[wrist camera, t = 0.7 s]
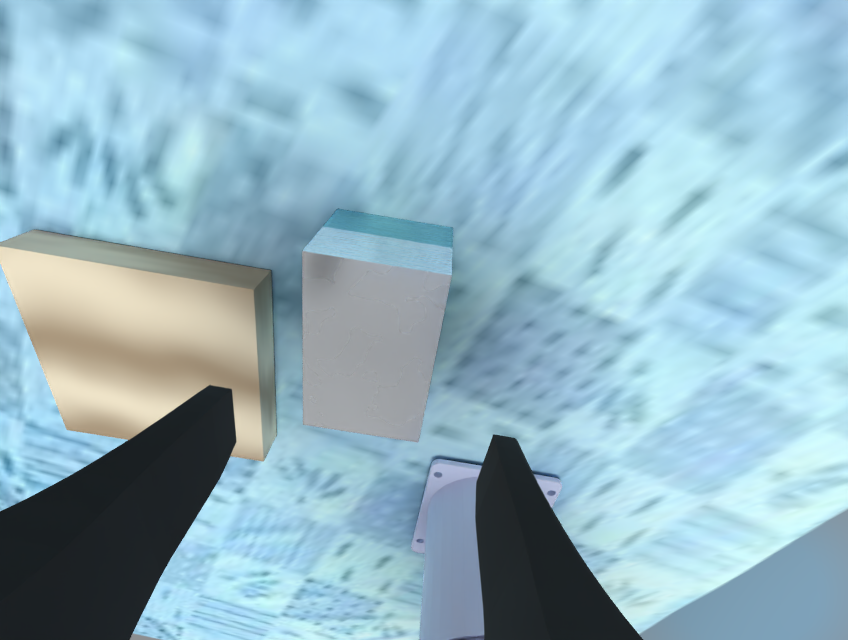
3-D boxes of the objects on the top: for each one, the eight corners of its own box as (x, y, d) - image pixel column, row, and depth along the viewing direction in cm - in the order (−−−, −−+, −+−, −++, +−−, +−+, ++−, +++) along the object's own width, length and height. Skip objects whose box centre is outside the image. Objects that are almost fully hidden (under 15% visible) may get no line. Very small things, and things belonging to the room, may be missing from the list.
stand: (276, 434, 25) (263, 461, 24) (93, 404, 25) (66, 429, 23) (271, 270, 20) (253, 289, 18) (34, 229, 19) (-7, 245, 18)
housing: (425, 370, 22) (418, 442, 18) (332, 356, 22) (302, 424, 18) (452, 226, 18) (452, 275, 14) (338, 207, 18) (302, 251, 14)
